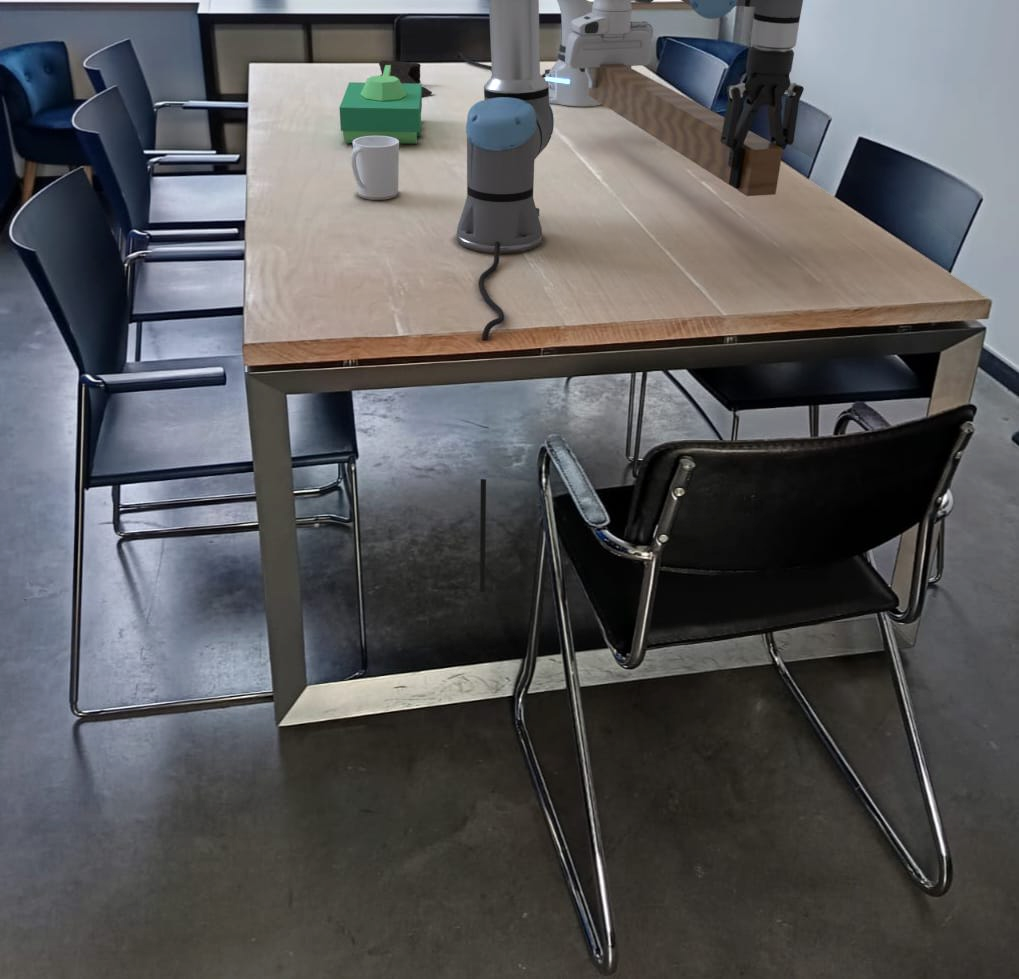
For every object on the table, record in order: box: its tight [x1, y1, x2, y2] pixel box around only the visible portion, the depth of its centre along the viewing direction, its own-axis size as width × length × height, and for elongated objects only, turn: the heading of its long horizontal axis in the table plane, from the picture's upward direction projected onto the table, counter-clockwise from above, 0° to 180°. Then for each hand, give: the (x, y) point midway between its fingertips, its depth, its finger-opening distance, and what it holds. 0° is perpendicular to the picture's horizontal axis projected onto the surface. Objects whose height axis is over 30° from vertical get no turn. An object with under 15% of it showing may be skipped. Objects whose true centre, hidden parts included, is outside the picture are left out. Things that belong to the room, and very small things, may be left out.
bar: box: [589, 64, 784, 197], centre depth 222 cm, size 81×6×8 cm, turn 17°
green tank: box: [339, 65, 423, 145], centre depth 261 cm, size 18×12×35 cm
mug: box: [350, 136, 400, 201], centre depth 214 cm, size 11×9×10 cm
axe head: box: [378, 59, 433, 97], centre depth 299 cm, size 18×8×15 cm
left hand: (750, 185), depth 195 cm, fingers closed on bar, 6 cm apart
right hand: (606, 86), depth 252 cm, fingers closed on bar, 5 cm apart
